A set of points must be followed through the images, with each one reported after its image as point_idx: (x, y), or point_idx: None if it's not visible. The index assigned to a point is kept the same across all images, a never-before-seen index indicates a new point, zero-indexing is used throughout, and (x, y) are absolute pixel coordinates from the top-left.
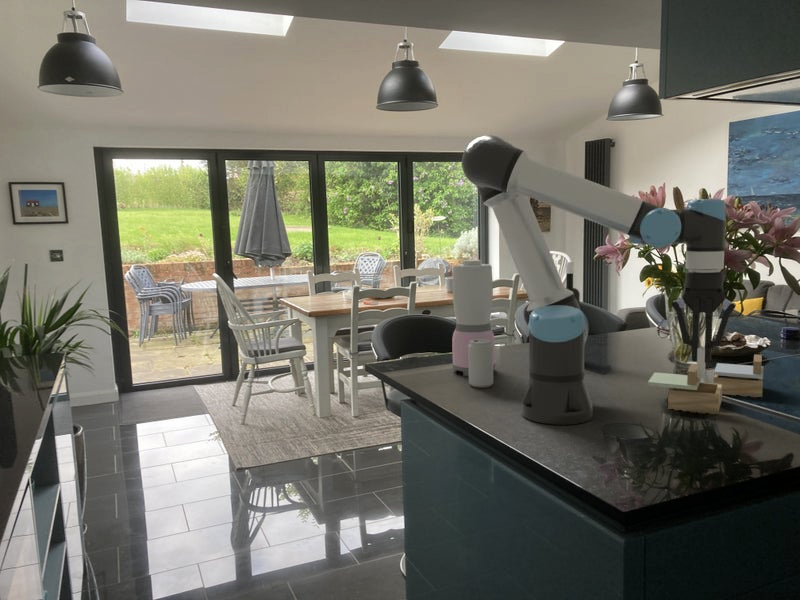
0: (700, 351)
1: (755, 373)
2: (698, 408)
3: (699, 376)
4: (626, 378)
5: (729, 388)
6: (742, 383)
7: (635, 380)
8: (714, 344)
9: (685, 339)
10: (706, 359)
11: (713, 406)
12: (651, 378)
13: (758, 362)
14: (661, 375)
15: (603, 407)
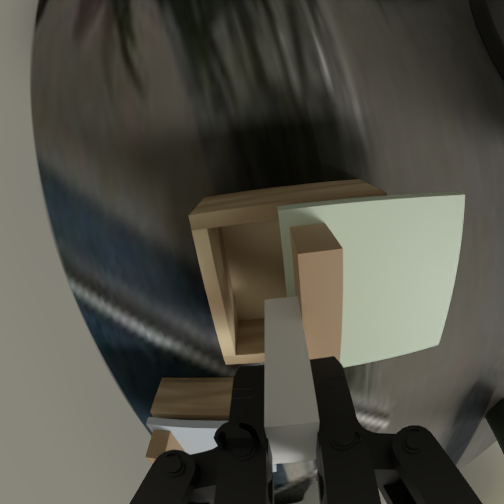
0: (294, 406)
1: (164, 432)
2: (266, 191)
3: (284, 299)
4: (445, 387)
5: (227, 394)
6: (195, 407)
7: (432, 387)
8: (192, 461)
9: (423, 454)
10: (256, 379)
11: (215, 200)
12: (455, 258)
13: (152, 456)
14: (424, 319)
15: (492, 126)
